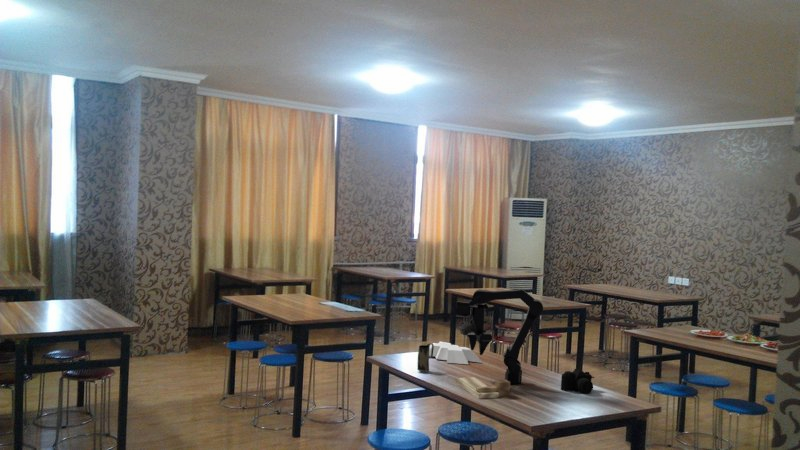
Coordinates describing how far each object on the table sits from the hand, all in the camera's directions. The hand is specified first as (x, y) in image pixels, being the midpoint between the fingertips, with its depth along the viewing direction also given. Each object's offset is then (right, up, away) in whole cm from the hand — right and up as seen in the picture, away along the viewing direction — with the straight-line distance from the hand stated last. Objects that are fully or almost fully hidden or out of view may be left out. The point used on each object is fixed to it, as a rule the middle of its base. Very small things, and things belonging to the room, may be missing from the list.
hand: (476, 352), depth 285 cm
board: (-2, -12, -17) cm, 21 cm away
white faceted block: (-9, -11, +43) cm, 46 cm away
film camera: (+43, -15, -11) cm, 47 cm away
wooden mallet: (+3, -13, -25) cm, 28 cm away
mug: (-23, -11, +13) cm, 28 cm away
